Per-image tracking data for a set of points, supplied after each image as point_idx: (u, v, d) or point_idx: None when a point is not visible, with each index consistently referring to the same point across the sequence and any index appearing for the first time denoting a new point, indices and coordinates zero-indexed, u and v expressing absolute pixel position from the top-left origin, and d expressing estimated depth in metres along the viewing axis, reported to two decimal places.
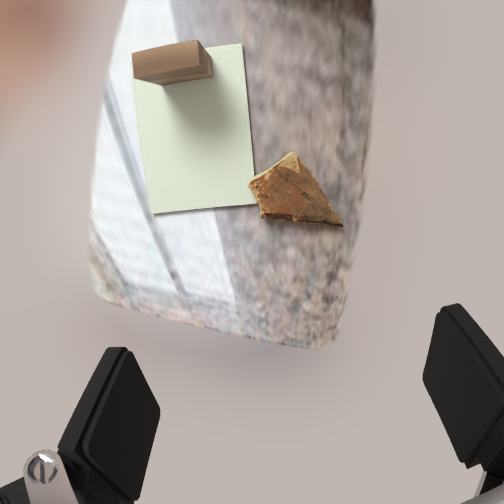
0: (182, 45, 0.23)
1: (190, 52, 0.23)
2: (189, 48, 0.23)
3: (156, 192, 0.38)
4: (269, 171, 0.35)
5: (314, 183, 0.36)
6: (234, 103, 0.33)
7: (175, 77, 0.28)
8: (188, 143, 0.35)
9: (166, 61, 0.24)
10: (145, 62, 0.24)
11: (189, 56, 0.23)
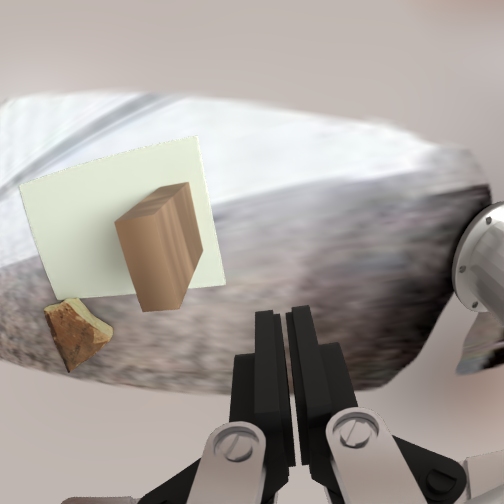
0: (168, 290, 0.19)
1: (159, 301, 0.19)
2: (164, 299, 0.19)
3: (38, 191, 0.26)
4: (84, 320, 0.29)
5: (90, 353, 0.32)
6: None
7: None
8: (93, 227, 0.27)
9: (142, 269, 0.18)
10: (138, 239, 0.17)
11: (153, 299, 0.19)
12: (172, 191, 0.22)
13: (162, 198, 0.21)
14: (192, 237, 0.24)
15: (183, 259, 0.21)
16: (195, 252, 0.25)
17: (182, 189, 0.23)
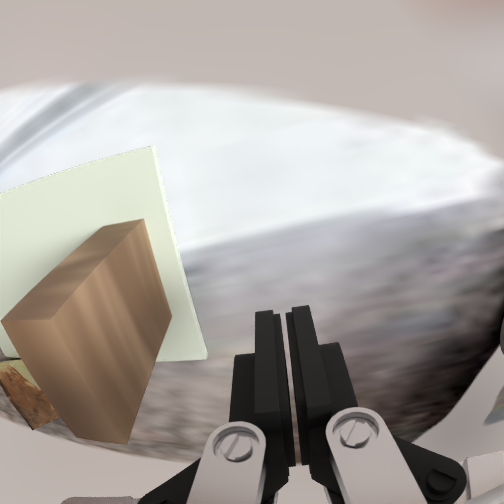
0: (105, 423, 0.10)
1: (95, 431, 0.10)
2: (102, 432, 0.10)
3: None
4: (35, 386, 0.20)
5: (51, 417, 0.23)
6: None
7: None
8: (27, 277, 0.18)
9: (59, 393, 0.09)
10: (40, 352, 0.08)
11: (86, 428, 0.10)
12: (110, 242, 0.13)
13: (88, 262, 0.11)
14: (150, 309, 0.15)
15: (131, 357, 0.12)
16: (156, 329, 0.16)
17: (128, 237, 0.14)
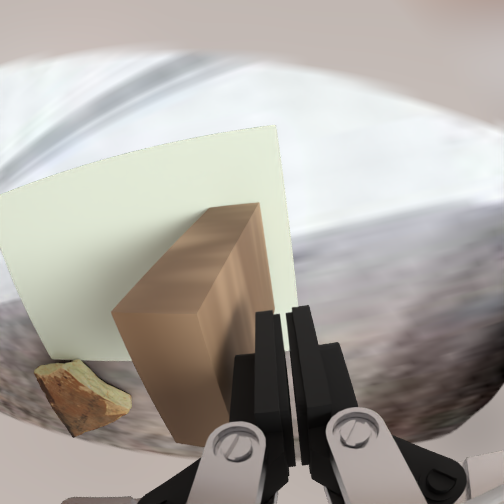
0: None
1: (205, 438, 0.10)
2: None
3: (12, 210, 0.16)
4: (91, 391, 0.20)
5: (101, 424, 0.22)
6: None
7: None
8: (97, 267, 0.17)
9: (175, 397, 0.09)
10: (164, 352, 0.08)
11: (195, 434, 0.10)
12: (233, 225, 0.13)
13: (215, 245, 0.11)
14: (262, 300, 0.15)
15: (250, 353, 0.12)
16: None
17: (250, 220, 0.13)
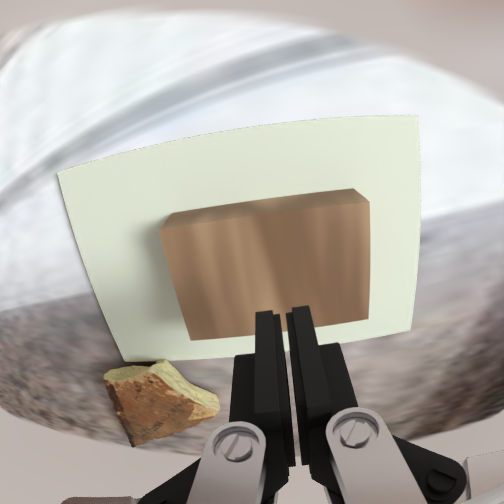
0: None
1: None
2: None
3: (99, 183, 0.15)
4: (181, 395, 0.19)
5: (177, 430, 0.22)
6: None
7: None
8: None
9: None
10: None
11: None
12: (295, 206, 0.14)
13: (251, 211, 0.14)
14: (319, 289, 0.15)
15: (248, 303, 0.15)
16: (318, 311, 0.15)
17: (316, 210, 0.13)
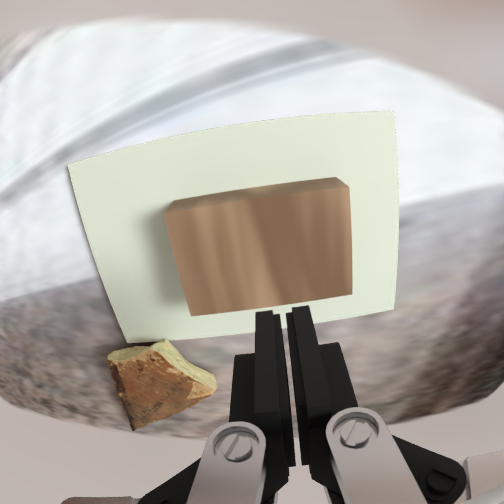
0: None
1: None
2: None
3: (107, 174, 0.17)
4: (181, 372, 0.21)
5: (177, 410, 0.23)
6: None
7: None
8: None
9: None
10: None
11: None
12: (283, 191, 0.15)
13: (245, 196, 0.16)
14: (306, 266, 0.16)
15: (243, 280, 0.17)
16: (306, 287, 0.17)
17: (302, 194, 0.15)
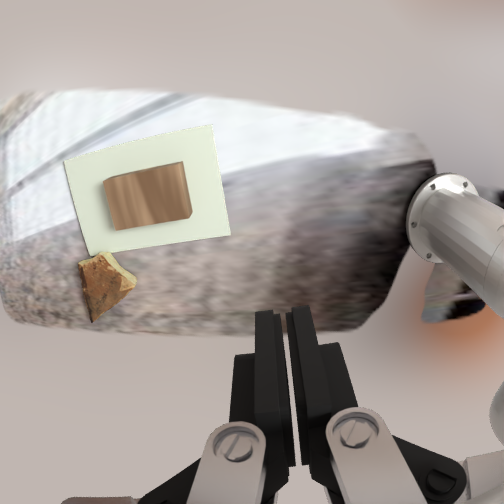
0: None
1: None
2: None
3: (82, 165, 0.34)
4: (114, 269, 0.38)
5: (115, 301, 0.41)
6: (170, 232, 0.38)
7: None
8: None
9: None
10: None
11: None
12: (151, 169, 0.33)
13: (136, 172, 0.33)
14: (163, 203, 0.34)
15: (136, 210, 0.34)
16: (165, 214, 0.34)
17: (157, 169, 0.32)
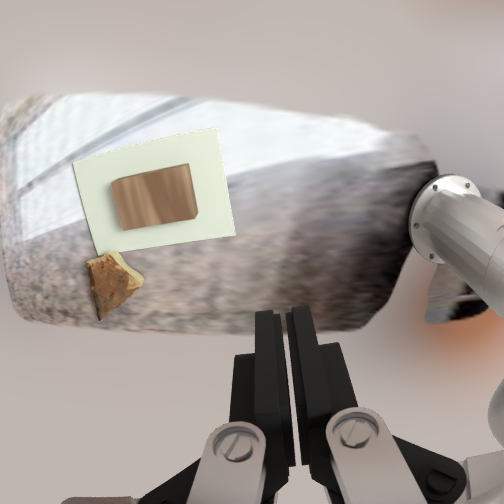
0: None
1: None
2: None
3: (90, 166, 0.36)
4: (122, 268, 0.39)
5: (122, 300, 0.42)
6: (176, 232, 0.39)
7: None
8: None
9: None
10: None
11: None
12: (158, 171, 0.34)
13: (143, 174, 0.34)
14: (169, 204, 0.35)
15: (143, 211, 0.35)
16: (171, 214, 0.36)
17: (164, 171, 0.34)
